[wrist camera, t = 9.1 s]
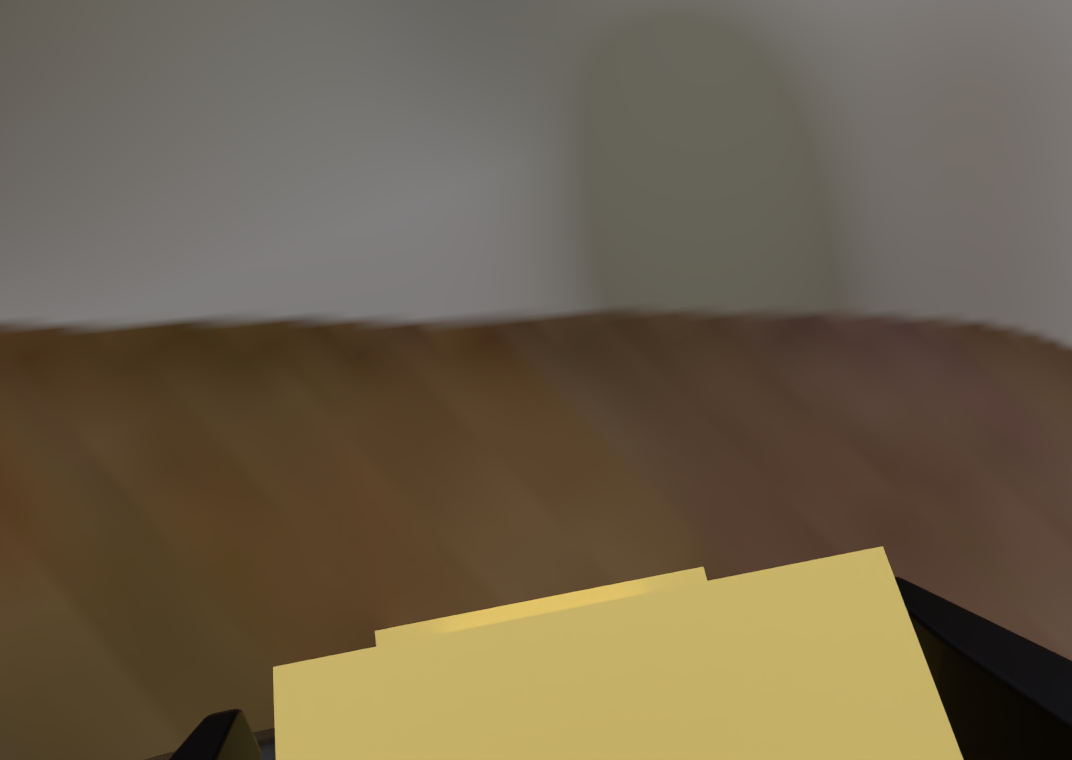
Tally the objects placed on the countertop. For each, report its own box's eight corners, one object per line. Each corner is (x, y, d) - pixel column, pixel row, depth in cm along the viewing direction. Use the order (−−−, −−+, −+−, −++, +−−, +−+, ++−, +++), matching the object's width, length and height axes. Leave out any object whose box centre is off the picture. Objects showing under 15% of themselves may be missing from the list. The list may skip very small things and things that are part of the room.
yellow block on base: (738, 782, 15) (1408, 1266, 4) (412, 856, 15) (-13, 1721, 3) (683, 573, 17) (1020, 456, 6) (391, 630, 16) (75, 635, 5)
